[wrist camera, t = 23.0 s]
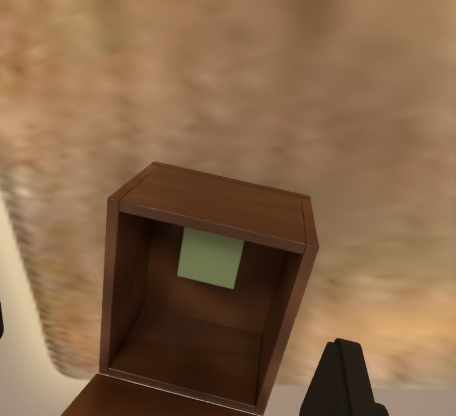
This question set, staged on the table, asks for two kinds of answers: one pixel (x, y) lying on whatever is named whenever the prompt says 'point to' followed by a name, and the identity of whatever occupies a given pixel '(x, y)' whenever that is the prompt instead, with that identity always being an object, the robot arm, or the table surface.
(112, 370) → the chest
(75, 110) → the table surface
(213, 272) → the block
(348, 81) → the table surface
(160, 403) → the lid
